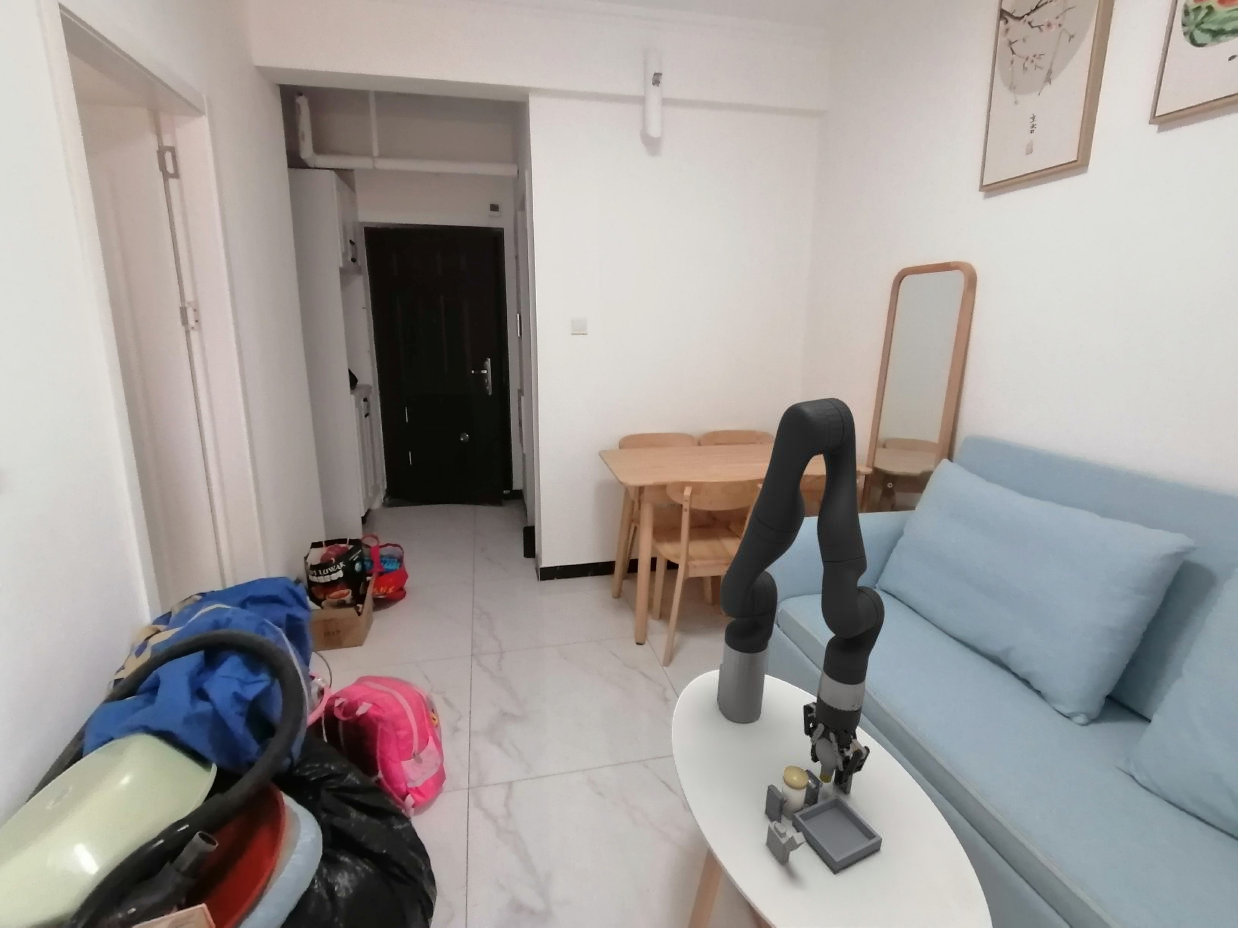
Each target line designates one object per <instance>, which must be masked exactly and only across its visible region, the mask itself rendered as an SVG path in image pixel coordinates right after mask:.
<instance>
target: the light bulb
mask: <svg viewBox="0 0 1238 928" xmlns="http://www.w3.org/2000/svg"><path fill="white" fill-rule="evenodd" d="M844 748H845V747H844ZM844 748H841V749H840V750H842V749H844ZM816 755H817V757H818V759H819V761H818V762H820V765H821V766H820V772H819V773H820V774H819V777H818V779H819V780H820V781H821V782H822V783H823V784H830V783H831V782H832V779H833V777H834V775H835V769H836V768H837V767H838V764H837V758H836V757H835V756H834V753H833V746H832V743H830V742H829V741H828V740H827V739H826V738H823V736H822V737H821V738H820V739H819V740H818V741H817V743H816ZM845 758H846V757H844V761H846V760H845Z"/></svg>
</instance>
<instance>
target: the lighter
mask: <svg viewBox="0 0 1238 928" xmlns="http://www.w3.org/2000/svg"><path fill="white" fill-rule="evenodd" d="M765 842H766V843H765V845H766V847H767V848H768V849H769V851H770V852H771V853H772V855H773V856H774V857H775V859H776V860H777V862H779V864H780V865H783V864H786V863H788V862H789V860H790V855H791V852H793V851H796V850H797V849H799V848H800V847H801V846H802V845H804V843H805V842H806V840H805V838H804V836H803V834H802V832H799V833H798V832H797V833H795V834H792V835H791V836H789V835H788V834H787V829H785V827H784V826H783V824H782V822H781V823H778V822H777V821H774V822H772V821H771V822H769V823H768V825H767V835H766V841H765Z"/></svg>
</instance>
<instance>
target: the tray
mask: <svg viewBox="0 0 1238 928" xmlns="http://www.w3.org/2000/svg"><path fill="white" fill-rule="evenodd" d="M791 826H792V827H793V828H794V830H795V831H797V833H799V832H802V834H803V836H804V838H805V840H806V841H805V842H806V843H807V844H808V846H810V848H811V849H812V850H813V851H814V853H816V855H817V856H818V858H820V859H821V860H822V862H824V864H826V866H827V867H828V868H829V869H830V870H831V872H832V873H833V874H834V875H836V874H837V873H839V872H841V871H843V870H845V869H847V868H849V867H852V865H854V864H857V863H858V862H860V861H862V860H864V859H866V858H868V857H870V856H871V855H873V854H875V853H878V852H879V851H881V847H882V842H883V837H882V836H881V835H880V834H879V833H877V831H876V830H874V829H873V827H871V825H870V824H869V823H867V822H866V820H864V819H863V818H862V817H861V816H860V814H858V812H856V811H855V810H854V809H853V808H852V807H851V806H850V805H849V804H848V803H847V802H846V801H845V800H844V799H843V798H842V797H841V796H840V795H839V794H835V795H833V796H830V797H828V798H825V799H823V800H822V801H820V802H818V803H817V804H815V805H813V806H810V807H809V806H807V807H805V808H803V810H802V811H799V812H797V813H795V814H794V815H793V820H792V825H791Z"/></svg>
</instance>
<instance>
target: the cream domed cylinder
mask: <svg viewBox="0 0 1238 928" xmlns="http://www.w3.org/2000/svg"><path fill="white" fill-rule="evenodd" d="M805 770H806V769H804V768H802V767H800V766H797V765H788V766H786V767H785V768H784V769H783V775H782V786H781V791H780V792H781V793H782V794H783V795H784V796H785V797H786V798H787V801H786V802H785V803H784V805H783V813H782V817H784V818H785V819H787V820H790V821H793V815H794V814H795V813H797V812H799V811H802V810H804V807H805V802H804V800H805V793H806V787H807V784H808V774H807V773H806V771H805Z"/></svg>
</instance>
